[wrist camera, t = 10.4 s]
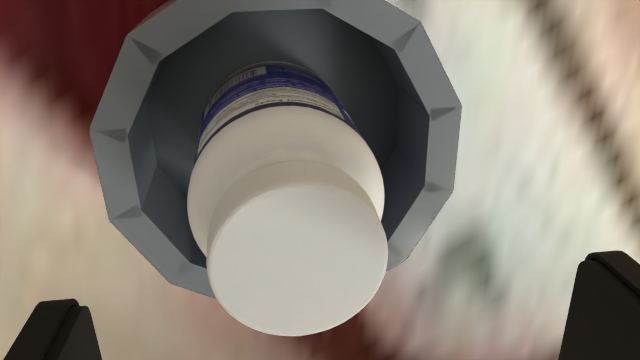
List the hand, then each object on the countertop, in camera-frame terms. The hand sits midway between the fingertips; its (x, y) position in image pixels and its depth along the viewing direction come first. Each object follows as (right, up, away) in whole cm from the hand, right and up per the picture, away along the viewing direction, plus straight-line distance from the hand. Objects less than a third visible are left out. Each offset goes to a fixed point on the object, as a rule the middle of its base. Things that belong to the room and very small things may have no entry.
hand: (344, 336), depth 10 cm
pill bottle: (-2, +5, +9) cm, 11 cm away
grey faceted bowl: (-2, +5, +10) cm, 12 cm away
